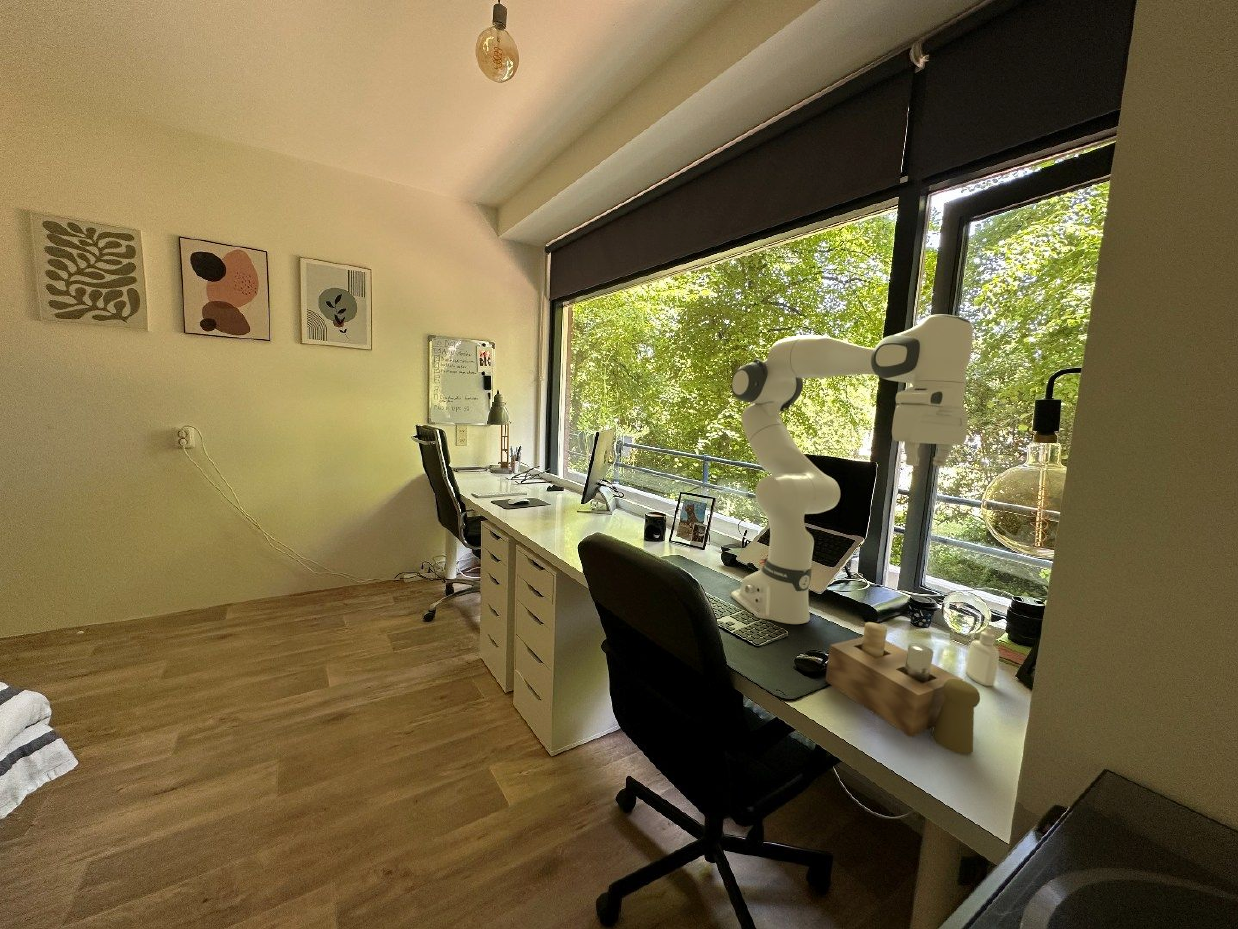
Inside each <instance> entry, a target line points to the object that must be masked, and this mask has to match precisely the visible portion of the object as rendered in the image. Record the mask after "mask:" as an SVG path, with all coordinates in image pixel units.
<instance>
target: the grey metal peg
mask: <svg viewBox="0 0 1238 929" xmlns="http://www.w3.org/2000/svg"><path fill="white" fill-rule="evenodd" d="M906 651H907V656H906V662H905V668H904V674H906V675H907V676H909V677H911V678H913V679H915V680H916V681H918V682H920V683H925V682H928V680H929V675H930V669H931V664H933V659H934V658H933V656H934V650H933V649H932V648H930V647H929V646H926V645H924V644H920V643H914V642H911V643H908V646H907V650H906Z"/></svg>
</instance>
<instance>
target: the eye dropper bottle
mask: <svg viewBox="0 0 1238 929" xmlns="http://www.w3.org/2000/svg"><path fill="white" fill-rule="evenodd" d="M995 637H996V635H995V634H993V633H992V628H991V627H988V626H987V627H986V629H985V630H984V631H981V632H980V637H979V639H978V640H977V639H975V640H973V641H971V643H970V646H969V651H968V657H967V662H966V667H965V673H966V675H967V676H968V677H969V678H970V679H972V680H973V681H975V682H976V683H978V684H980V685H982V686H987V687H992V686H994V685H995V681H996V675H997V670H998V667H999V666H998V665H999V660H1000V652H999V651H998V649H997V648H996V647H995V646H994V643H995V642H994V641H995V639H996V638H995Z"/></svg>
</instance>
